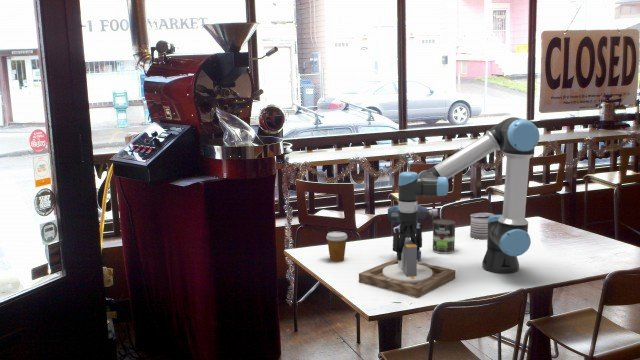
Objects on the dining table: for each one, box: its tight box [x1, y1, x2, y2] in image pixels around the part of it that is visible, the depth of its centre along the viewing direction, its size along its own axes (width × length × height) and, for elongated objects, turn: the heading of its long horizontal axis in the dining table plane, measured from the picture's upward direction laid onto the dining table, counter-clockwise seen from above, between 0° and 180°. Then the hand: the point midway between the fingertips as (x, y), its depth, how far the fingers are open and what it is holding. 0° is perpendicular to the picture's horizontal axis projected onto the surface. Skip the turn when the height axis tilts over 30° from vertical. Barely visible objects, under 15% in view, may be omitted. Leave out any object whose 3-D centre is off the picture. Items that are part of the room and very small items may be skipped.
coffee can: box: [432, 218, 456, 255], centre depth 295 cm, size 10×10×14 cm
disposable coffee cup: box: [326, 231, 348, 263], centre depth 284 cm, size 10×10×12 cm
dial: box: [383, 238, 432, 284], centre depth 255 cm, size 20×20×14 cm
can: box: [469, 212, 495, 241], centre depth 318 cm, size 11×11×12 cm
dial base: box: [358, 257, 457, 298], centre depth 256 cm, size 28×28×4 cm
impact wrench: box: [387, 204, 440, 262], centre depth 282 cm, size 8×23×25 cm, turn 78°
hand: (407, 266), depth 256 cm, fingers closed on dial, 6 cm apart
